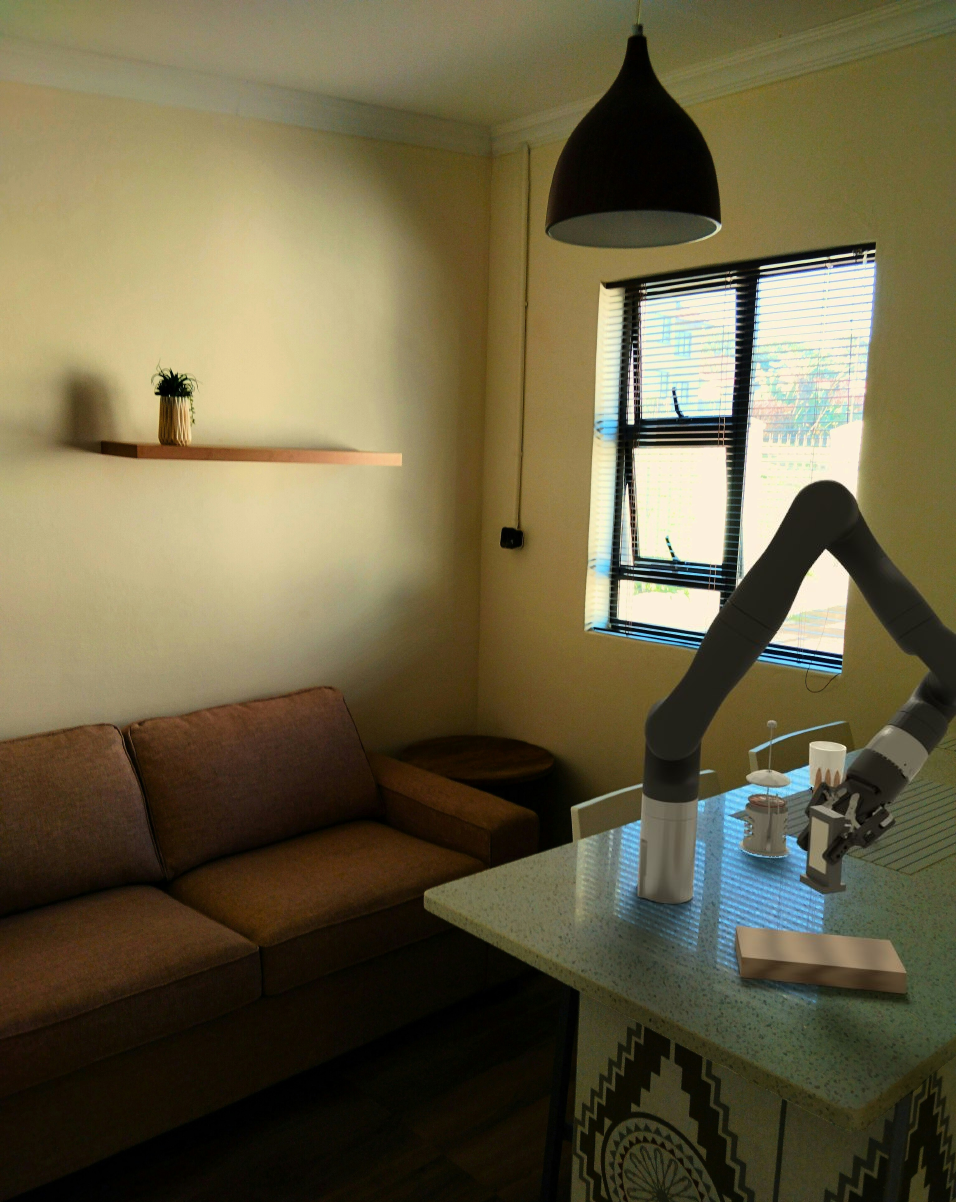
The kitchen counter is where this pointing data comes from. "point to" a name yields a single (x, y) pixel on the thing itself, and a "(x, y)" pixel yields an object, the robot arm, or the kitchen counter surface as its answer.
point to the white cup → (826, 760)
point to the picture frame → (820, 836)
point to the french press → (766, 813)
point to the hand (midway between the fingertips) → (814, 854)
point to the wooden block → (819, 959)
